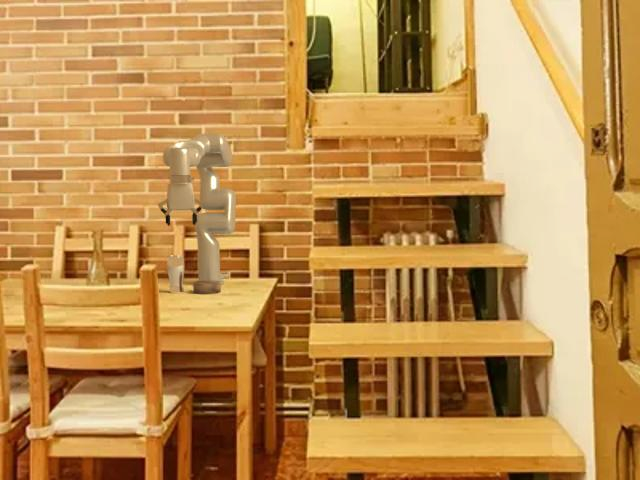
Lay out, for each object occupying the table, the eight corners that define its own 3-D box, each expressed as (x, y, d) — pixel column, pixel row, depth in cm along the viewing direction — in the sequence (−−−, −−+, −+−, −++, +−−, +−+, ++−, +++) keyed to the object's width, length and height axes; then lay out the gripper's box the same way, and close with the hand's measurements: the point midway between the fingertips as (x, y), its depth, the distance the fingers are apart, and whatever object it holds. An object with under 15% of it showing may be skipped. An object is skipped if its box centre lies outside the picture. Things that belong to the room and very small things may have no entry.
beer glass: (164, 292, 292) (163, 256, 291) (174, 290, 298) (173, 254, 297) (179, 293, 289) (177, 257, 288) (188, 291, 296) (187, 255, 294)
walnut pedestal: (209, 289, 301) (209, 279, 300) (226, 291, 293) (225, 282, 293) (188, 292, 293) (187, 282, 292) (204, 295, 285) (204, 285, 285)
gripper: (201, 179, 277) (202, 223, 279) (155, 180, 271) (157, 225, 273) (204, 179, 270) (205, 224, 272) (158, 180, 264) (159, 226, 266)
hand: (181, 225), depth 272 cm, fingers open, 9 cm apart
